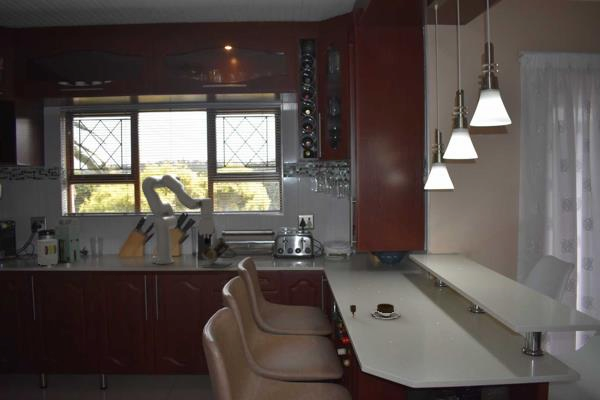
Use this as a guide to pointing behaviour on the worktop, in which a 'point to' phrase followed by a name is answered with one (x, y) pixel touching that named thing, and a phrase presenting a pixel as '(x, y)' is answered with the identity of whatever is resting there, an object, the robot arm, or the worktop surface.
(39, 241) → the supplement box
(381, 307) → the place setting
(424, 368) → the worktop surface
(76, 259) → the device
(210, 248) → the coffee box
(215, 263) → the mat
